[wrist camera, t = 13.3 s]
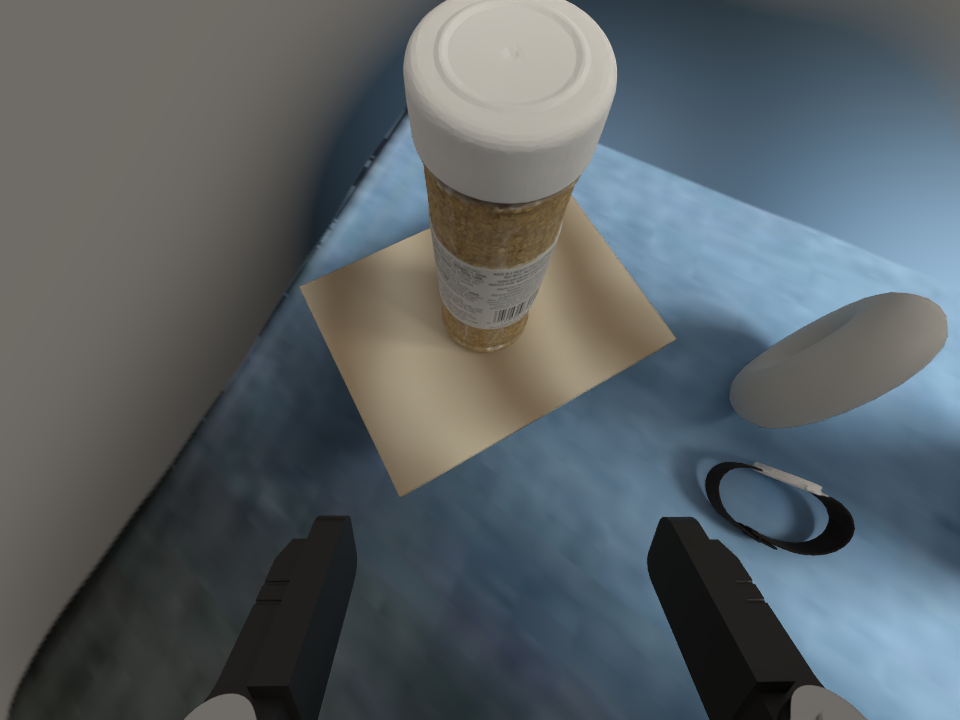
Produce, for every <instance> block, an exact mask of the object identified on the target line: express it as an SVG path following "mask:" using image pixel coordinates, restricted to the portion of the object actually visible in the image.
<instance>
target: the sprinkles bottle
mask: <svg viewBox="0 0 960 720" xmlns="http://www.w3.org/2000/svg"><path fill="white" fill-rule="evenodd" d="M403 70H404V82H405V91H406V99H407V107H408V114H409V120H410V127H411V133H412V138H413V142H414V145H415V148H416V150H417V153H418V155H419V156H420V158H421V160H422V162H423V164H424V173H425V179H426V187H427V194H428V203H429V221H430V229H431V236H432V243H433V250H434V257H435V264H436V271H437V278H438V285H439V291H440V295H441V298H442V303H443V304H442V321H443V323H444V325H445V328H446V330H447V332H448V333H449V335H450V336H451V338H452V339H453V340H454V341H456V342H457V343H458V344H459V345H460V346H461V347H464V348H466V349H469V350H472V351H476V352H486V353H489V352H496V351H498V350H502V349H504V348H506V347H507V346H509V345H511V344H513V343H514V342H515V341H516V340H517V339H518V338H519V337H520V336H521V334H522V333H523V331H524V329H525V326H526V323H527V321H528V316H529V314H528V312H529V310H530V308H531V307H532V305H533V303H534V301H535V299H536V296H537V293H538V291H539V288H540V286H541V283H542V280H543V278H544V275H545V273H546V270H547V267H548V265H549V262H550V259H551V257H552V254H553V251H554V248H555V246H556V243H557V240H558V238H559V235H560V232H561V228H562V222H563V217H564V214H565V211H566V208H567V205H568V203H569V200H570V197H571V193H572V191H573V189H574V185H575V184H576V183H577V181H578V179H579V177H580V175H581V174H582V172H583V171H584V170H585V169H586V167H587V166H588V164H589V163H590V161H591V158H592V156H593V154H594V151H595V149H596V147H597V144H598V141H599V138H600V136H601V133H602V130H603V127H604V124H605V122H606V119H607V116H608V113H609V110H610V107H611V104H612V101H613V97H614V94H615V91H616V83H617V65H616V59H615V56H614V53H613V50H612V47H611V45H610V43H609V41H608V39H607V37H606V35H605V34H604V32H603V31H602V30H601V28H600V27H599V26H598V25H597V23H596V22H595V21H593V19H592V18H590V16H588V15H587V14H586V13H585V12H584V11H582V10H580V9H579V8H578V7H576V6H575V5H573V4H571V3H569V2H568V1H565V0H446V1H445V2H443V3H442V4H440V5H438V6H437V7H435V8H434V9H433V10H432V11H430V12H429V13H428V14H427V15H426V16H425V17H424V18H423V19H422V20H421V22H420V23H419V24H418V26H417V27H416V29H415V30H414V31H413V34H412V36H411V38H410V39H409V42H408V45H407V48H406V53H405V58H404V68H403Z"/></svg>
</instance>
